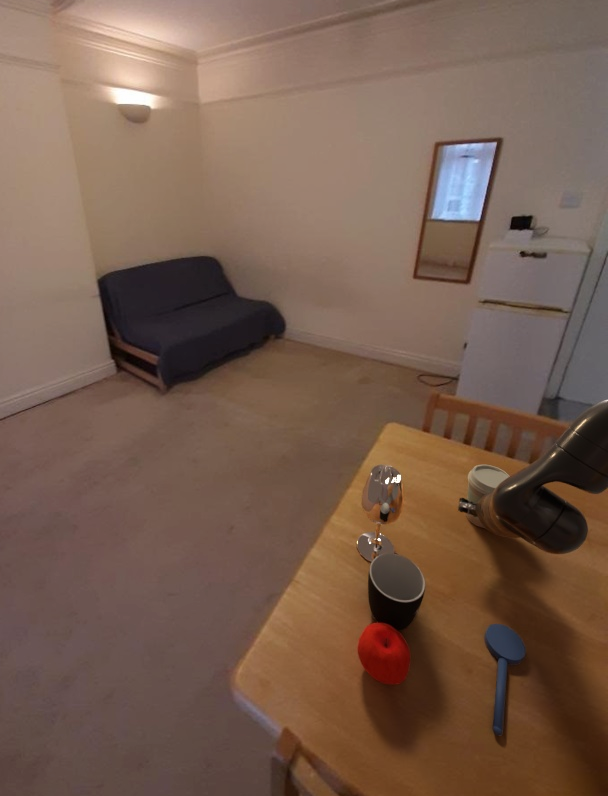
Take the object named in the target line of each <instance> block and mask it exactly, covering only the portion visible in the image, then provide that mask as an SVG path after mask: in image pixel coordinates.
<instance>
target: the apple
mask: <svg viewBox="0 0 608 796" xmlns="http://www.w3.org/2000/svg"><path fill="white" fill-rule="evenodd" d="M357 654H358V659H359V661H360V663H361V666H362V667H363V669H364V670H365V671H366V672H367V673H368V674H369V676H371V677H372V679H374V680H376V682H380V683H382V684H387V685H399V684H401V683H403V682H404V681H405V680H406V678H407V676H408V674H409V672H410V666H411V650H410V647H409V644H408V642H407V641H406V640H405V638H404V636H403V634H402V633H401V631H397V630H396V629H395V628H393V627H392V626H391V625H388V624H386V623H378V622H374V623H373V622H372V623H370V624H368V625H367V626H366V627H365V628H364V629H363V631H362V633H361V635H360V636H359V638H358V644H357Z"/></svg>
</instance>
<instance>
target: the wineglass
mask: <svg viewBox="0 0 608 796" xmlns="http://www.w3.org/2000/svg"><path fill="white" fill-rule="evenodd" d="M402 478H403V477H402V474H401V472H400V471H399V470H398V469H397V468H395V467H393V466H391V465H388V464H377V465H374V466H373V467H372V468H371V469H370V472H369V474H368V476H367V479H366V480H365V484H364V486H363V488H362V492H361V497H360V498H361V499H360V500H361V502H360V503H361V504H360V505H361V508H362V511H363V513H364V514H365V516H366V517H367V518H368V519H369V520H370V521H371V522H373V523H375V524H376V528H375V531H367V532H364V533H361V534H360V536H359V537H358V538H357V540H356V548H357V550H358V553H359V554H360V556H361V557H363V558H364V559H365V560H367V561H368V562H370V563H372V561H373V560H374V559H375V558H376V557H377V556H379V555H381V554H385V553H396V552H395V547H394V544H393V542H392V541H391V540H390V539H389V538H388V537H387V536H386V535H384V534H382V533H380V532H381V526H382V525H383V526H385V525H391V524H393V523H395V522H396V521H398V520H399V519H400V517H401V515H402V514H403V510H404V502H405V498H404V497H405V495H404V486H403V479H402Z"/></svg>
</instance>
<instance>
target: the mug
mask: <svg viewBox="0 0 608 796" xmlns="http://www.w3.org/2000/svg"><path fill="white" fill-rule="evenodd" d="M367 577H368V579H367V597H368V604H369V610H370V612H371V615H372V617H373V619H374V620H375V621H376V623H386V624H388V625H391V626H392V627H393V628H395V629H396V630H397V631H399V632H402V631H404V630H406V629H407V628H408V627H410V626H411V625H412V623H413V622H414V620H415V618H416V617H417V615H418V613H419V610H420V607H421V605H422V602H423V599H424V596H425V592H426V579H425V576H424V574H423V572H422V570H421V569H420V568H419V566H418V565H417V564H416V563H415V562H413V561H412V560H411V559H409V558H408V557H406V556H404V555H401V554H399V553H397V552H395V553H385V554H381V555H379V556H377V557H376V558H375V559H374V560H373V561H372V562H370V565H369V568H368V575H367Z"/></svg>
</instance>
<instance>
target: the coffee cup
mask: <svg viewBox="0 0 608 796" xmlns="http://www.w3.org/2000/svg"><path fill="white" fill-rule="evenodd" d="M510 476H511V475H510V474H509V473H507V472H506V471H505V470H503V469H502V468H500V467H498V466H495V465H490V464H477V465H475V466H474V467H472V469H470V470H469V472H468V474H467V480H468V485H467V496H466V500H470V501H472V502H478V501H479V500H480V499H481V497H482V496H484V495H485V494H487V493H490V492H494V490H495V488H496V487H497V486H498V485H499V484H500V483H501V482H503V481H504V480H505V479H507V478H508V477H510ZM465 516H466V518H467V520H468V521H469V522H470V523H472V524H473V525H474V526H476V527H479V528H483V529H486V528H485V527H484V526H483V525H482V523H481V522H480V520H479V518H478V517H474V516H473V515H470V514H467V513H465Z"/></svg>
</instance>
